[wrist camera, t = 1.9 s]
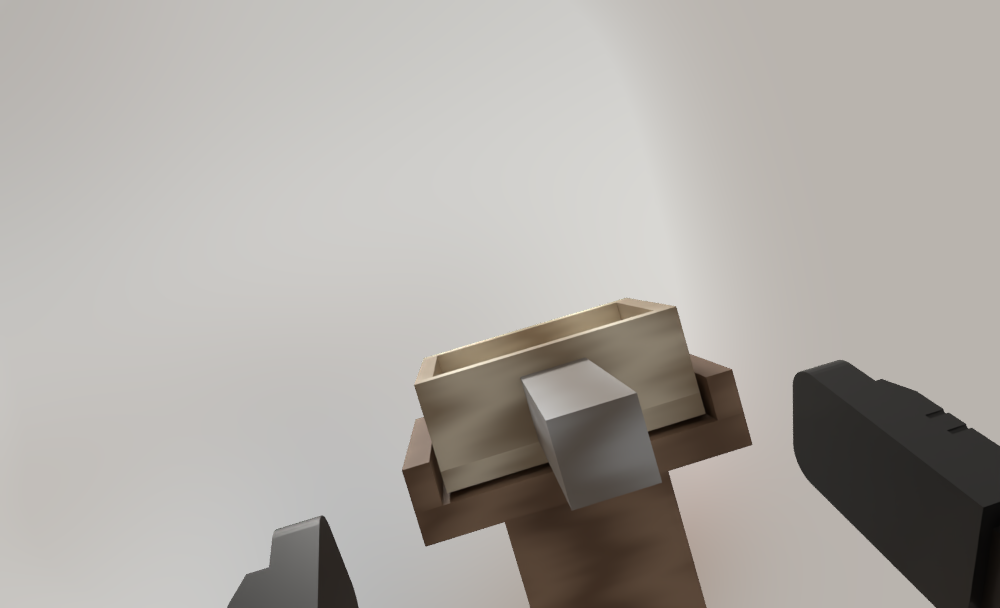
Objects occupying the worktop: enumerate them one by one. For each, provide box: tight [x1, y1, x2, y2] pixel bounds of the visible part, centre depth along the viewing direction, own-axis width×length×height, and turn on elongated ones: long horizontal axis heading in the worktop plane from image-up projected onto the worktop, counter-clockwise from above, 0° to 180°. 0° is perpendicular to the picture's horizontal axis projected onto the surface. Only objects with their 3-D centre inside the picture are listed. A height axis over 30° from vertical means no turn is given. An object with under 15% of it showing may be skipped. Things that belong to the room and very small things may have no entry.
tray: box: [414, 298, 706, 511], centre depth 31 cm, size 12×18×5 cm
